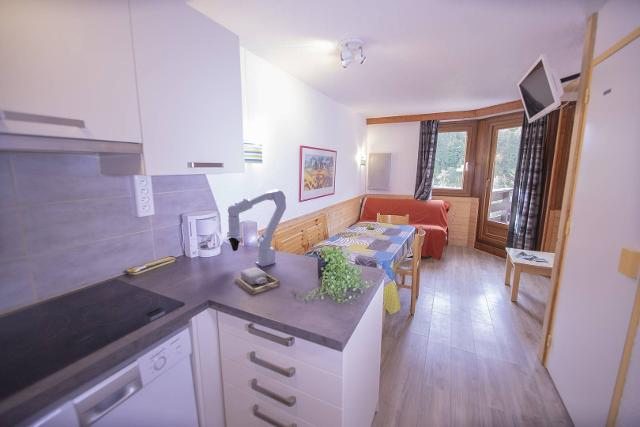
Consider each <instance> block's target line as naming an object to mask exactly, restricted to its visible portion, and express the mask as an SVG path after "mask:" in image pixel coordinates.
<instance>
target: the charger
mask: <svg viewBox="0 0 640 427" xmlns="http://www.w3.org/2000/svg"><path fill="white" fill-rule="evenodd" d="M266 273H267V272H265V271H264V270H262V269H260V268H259V267H257V266H253V267H250V268H247V269H243V270H241V271H240V279H241V280H243V281H244V282H246V283H247V284H248V285H250V286H252V285H257V284H258V285H263V284H265V283H267V281H268V279H266Z"/></svg>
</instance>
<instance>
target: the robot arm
mask: <svg viewBox="0 0 640 427" xmlns="http://www.w3.org/2000/svg"><path fill="white" fill-rule="evenodd" d="M264 201H273V202H274V204H275V206H276V208H275V210H274V212H273V213H272V216H271V218H270V220H269V222H268V224H267V226H266V228H265V230H264V231H263V232H262V234H261V235H260V236H259V237H258V238H257V243H258V247H257V260H258V261H255V264H257V265H258V266H260V267H266V266H269V265H274V264H276V263H277V261H276V251H275V248H274V247H273V246H272V240H273V235H274V233H275V232H276V230H277V227H278V226H279V223H280V222H281V219H282V217H283V215H284V213H285V210H287V202H286V195H285V194H284V192H283V191H282V190H280V189H277V188H275V189H273V190H268V191H267V192H264V193H262V194H260V195H258V196H256V197H253V198H252V199H249V198H243V199H242V200H240V201H239V202H235V203H234V204H231V205H229V206H228V207H227V208H228V209H227V213H228V216H227V217H228V231H227V234H226V237H227V238H228V239H227V240H228V241H229V243H230V245H231V248H232V251H233V252H237V251H238V249H239V245H240V242H242V241H243V236H242V235H241V230H240V229H241V228H240V214H242V213H245V212H247V211H248V210H249V211H250V209H253V206H254V205H257V204H259V203H262V202H264ZM273 261H274V262H273Z"/></svg>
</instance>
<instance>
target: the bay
mask: <svg viewBox="0 0 640 427" xmlns="http://www.w3.org/2000/svg"><path fill="white" fill-rule="evenodd" d="M266 279H267V281H270V283H267V284H264V285H263V284H262V285H260V286H258V287H255V288H254V287H252V285H250V284H248V283H247V282H245V281H244V280H243V279H241V277H239V276H237V275H236V276H234V281H235V283H237V284H239V285H240V287H243V288H244V289H245V290H246V291H248V292H249V293H250V294H252V295H256V294H258V293H261V292H264V291H268V290H270V289H273V288H277V287H278V286H281V281H280V280H279V279H277V278H275V277H273V276H272V275H271V274H268V273H267V272H266Z"/></svg>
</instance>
